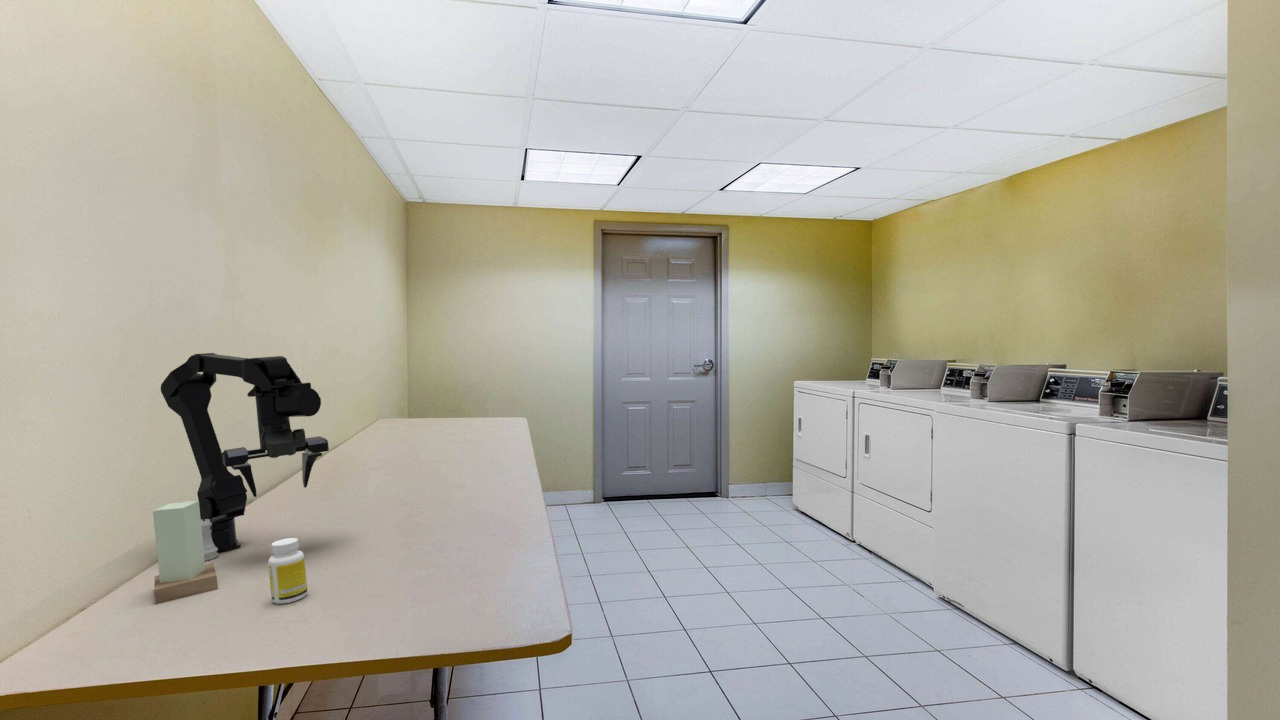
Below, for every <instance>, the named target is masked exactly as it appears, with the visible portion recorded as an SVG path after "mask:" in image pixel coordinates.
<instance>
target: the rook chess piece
mask: <svg viewBox="0 0 1280 720" xmlns="http://www.w3.org/2000/svg"><path fill="white" fill-rule="evenodd" d="M211 525H212V523H211V522H210V519H205V521H203V520H201V528H202V539H203V549H204V560H205V562H207V561H211V560H214V559H216V558H217V557H218V556H219V553H220V552H217V550H218V548H217V547H216V546H215V544H214V543H213V541H212V537H211V532H212V531H211V530H210V527H211Z"/></svg>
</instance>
